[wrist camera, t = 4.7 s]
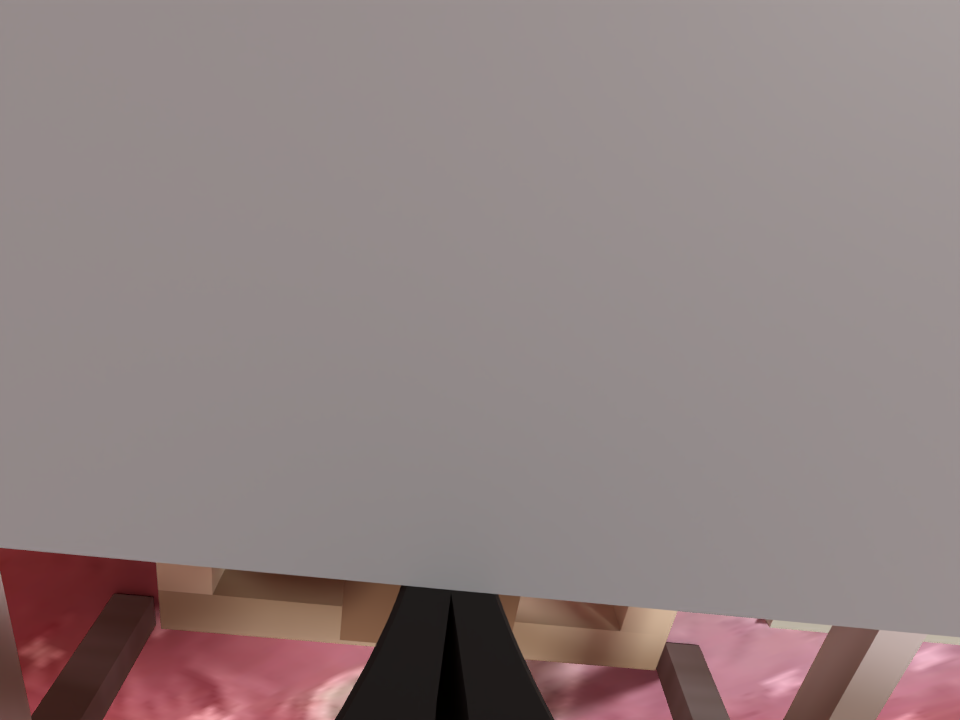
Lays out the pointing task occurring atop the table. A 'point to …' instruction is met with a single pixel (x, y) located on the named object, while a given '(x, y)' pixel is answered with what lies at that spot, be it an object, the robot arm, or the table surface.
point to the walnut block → (384, 609)
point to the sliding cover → (492, 296)
